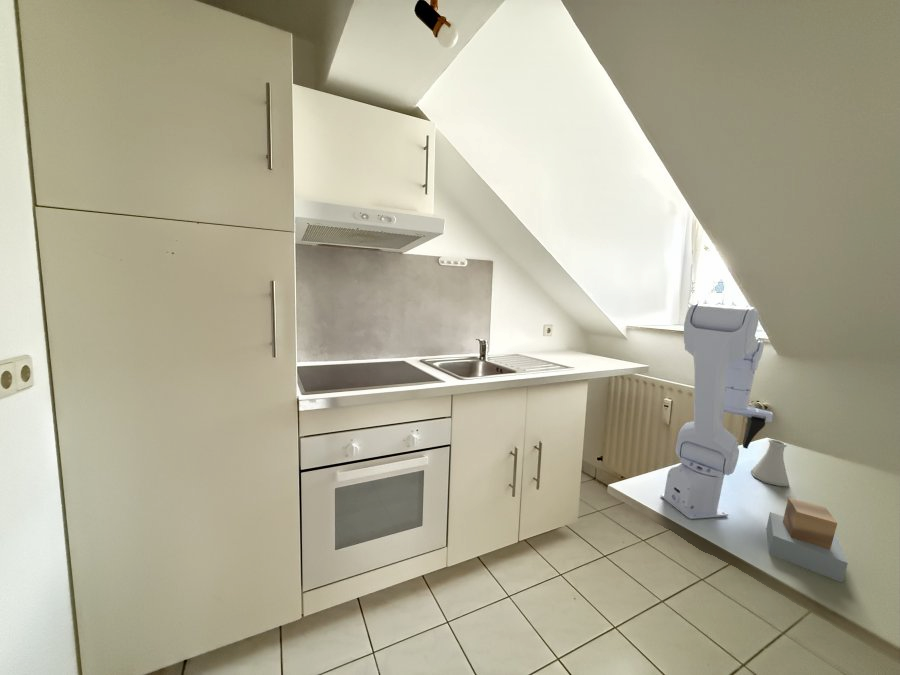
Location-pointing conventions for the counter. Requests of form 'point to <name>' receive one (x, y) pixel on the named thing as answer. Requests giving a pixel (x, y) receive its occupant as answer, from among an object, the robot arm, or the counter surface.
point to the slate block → (805, 551)
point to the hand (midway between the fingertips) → (724, 441)
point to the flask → (772, 465)
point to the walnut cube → (809, 523)
